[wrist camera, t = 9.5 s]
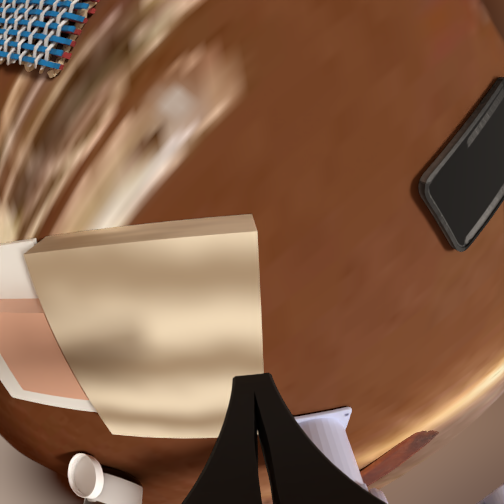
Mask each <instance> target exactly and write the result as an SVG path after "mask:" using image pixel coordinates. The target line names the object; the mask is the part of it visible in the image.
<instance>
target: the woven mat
mask: <svg viewBox="0 0 504 504" xmlns="http://www.w3.org/2000/svg"><path fill="white" fill-rule="evenodd" d="M82 1H86V2H84V3H81V2H82ZM99 1H100V0H74V1H73V0H69V1H68V0H0V5H1V7H0V64H2V63H3V62H5V61H6V59H7V63H6V64H7V65H10V64H11V63H15V62H16V61H17V60H19V64H20V65H21V64H23V65H25V70H26V71H27V72H30V71H32V70H33V69H34V68H36V67H37V64H38V65H41V67H40V70H39V73H40V74H42V73H43V71H44V69H45V67H46V66H47V67H51V68H50V69H49V70H48V71H47V73H48V75H49V77H50V78H52V77H54V76H55V75H57V74H58V73H59V72H60V70H62V69H63V67H64V65H63V63H64V61H65V59H66V58H67V59H70V57H71V55H72V54H71V53H69V51H70V49H71V47H74V46H75V44H76V42H75V39H76V37H77V36H78V35H80V33H81V32H82V31H81V28H82V27H83V25H84V24H86V22H87V21H88V19H87V14H94V12H95V11H96V9H94V8H92V7H93V6H95V5H96V3H97V2H98V3H99ZM16 5H18V7H17V8H15V6H16ZM35 6H36V8H35V9H32V8H33V7H35ZM43 7H44V8H43ZM56 8H57V10H56ZM31 9H32V10H31ZM66 10H68V12H65V11H66ZM76 11H77V15H76V14H75V12H76ZM19 15H20V16H19ZM1 16H2V18H1ZM18 16H19V17H18ZM28 16H31V17H30V19H29V20H27V19H28ZM45 19H49V21H48V22H47V23H45ZM35 20H36V21H35ZM70 21H72V22H76V23H75V25H74V26H68V24H69V23H70ZM13 26H14V29H11V28H12V27H13ZM31 28H35V29H34V30H33V31H32V32H31ZM41 29H44V30H43V32H42V34H41V33H40V31H41ZM61 33H64V34H65V33H68V34H69V36H68V38H63V37H61ZM7 36H10V37H9V38H8V39H7ZM27 38H28V43H23V42H24V41H25V40H26V39H27ZM36 39H37V40H39V42H38V43H37V44H36V45H34V43H35V41H36ZM48 42H51V43H50V45H49V47H48ZM57 44H62V45H64V46H63V48H62V50H58V49H56V46H57ZM3 47H4V51H2V48H3ZM20 49H25V50H24V51H23V52H22V54H21V55H20ZM30 51H32V52H31V53H30ZM29 53H30V54H29ZM44 54H45V57H44V59H40V58H41V57H42V56H43V55H44ZM52 55H55V56H58V58H57V60H56V62H52V61H49V60H50V58H51V56H52ZM9 60H10V61H9Z"/></svg>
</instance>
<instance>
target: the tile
mask: <svg viewBox="0 0 504 504" xmlns="http://www.w3.org/2000/svg"><path fill="white" fill-rule="evenodd" d="M0 354H1V356H2V357H3V359H4V361H5V362H6V364H7V366H8V367H9V369H10V371H11V372H12V374H13V375H14V377H15V379H16V380H17V382H18V383H19V385H20V386H21V388H22V389H23V390H26V391H30V392H36V393H41V394H47V395H53V396H59V397H66V398H73V399H81V400H89V398H88V397H87V395H86V393H85V392H84V390H83V388H82V387H81V385H80V383H79V382H78V380H77V378H76V376H75V374H74V373H73V371H72V369H71V367H70V365H69V363H68V362H67V360H66V358H65V356H64V354H63V352H62V350H61V348H60V346H59V344H58V342H57V340H56V337H55V335H54V333H53V331H52V329H51V327H50V324H49V322H48V320H47V317H46V315H45V313H44V310H43V308H42V305H41V303H40V300H39V298H32V299H0Z"/></svg>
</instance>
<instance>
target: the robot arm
mask: <svg viewBox="0 0 504 504" xmlns="http://www.w3.org/2000/svg"><path fill="white" fill-rule="evenodd" d="M351 412H352V409H351V407H344V408H340V409H335V410H330V411H325V412H320V413H314V414H309V415H303V416H297V417H293V415H292V414H291V412H290V411H289V409H288V407H287V406H286V404H285V402H284V401H283V399H282V397H281V395H280V393H279V391H278V389H277V387H276V385H275V383H274V380H273V378H272V375H271V374H270V373H262V374H253V375H242V376H235V377H234V378H233V379H232V390H231V396H230V401H229V405H228V409H227V412H226V415H225V419H224V422H223V425H222V428H221V431H220V433H219V436H218V439H217V441H216V444H215V446H214V448H213V451H212V453H211V455H210V457H209V459H208V461H207V463H206V465H205V467H204V469H203V471H202V473H201V474H200V476H199V478H198V480H197V481H196V483H195V485H194V486H193V488H192V489H191V491H190V492H189V494H188V495H187V497H186V498H185V499H184V501H183V502H182V504H262V500H261V493H260V485H259V478H258V441H257V431H258V435H259V439H260V443H261V448H262V452H263V456H264V460H265V464H266V468H267V472H268V476H269V481H270V486H271V493H272V500H273V504H388V502H387V499H386V497H385V495H384V493H383V492H382V491H381V490H378V489H376V488H372V489H370V490H369V491H368V488H367V486H366V484H365V483H363V480H362V477H361V474H360V471H359V469H358V466H357V463H356V460H355V457H354V454H353V452H352V449H351V446H350V443H349V440H348V438H347V435H346V432H345V429H346V426H347V424H348V421H349V418H350V415H351ZM476 504H504V483H503V484H502V485H501V486H499V487H498V488H497V489H495V490H494V491H493V492H491V493H490V494H489V495H487V496H486V497H485V498H484V499H482V500H481V501H479V502H478V503H476Z"/></svg>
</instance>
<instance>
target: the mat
mask: <svg viewBox="0 0 504 504" xmlns="http://www.w3.org/2000/svg"><path fill="white" fill-rule="evenodd" d="M36 244H37V240H36V238H33V239H26V240H20V241H14V242H8V243H2V244H0V299H32V298H38V295H37V293H36V290H35V287H34V285H33V282H32V279H31V276H30V273H29V270H28V267H27V264H26V261H25V258H24V254H25V253H26V252H27V251H28V250H29V249H31V248H32V247H33V246H35V245H36ZM0 380H1V382H2V383H3V385H4V386H5V388H6V389H7V390H8V392H9V393H10V395H11V396H12V397H14V398H18V399H22V400H27V401H31V402H36V403H41V404H46V405H51V406H57V407H63V408H69V409H76V410H83V411H91V412H97V411H96V409H95V408H94V406H93V405H92V403H91V402H90V400H81V399H73V398H66V397H59V396H53V395H47V394H41V393H36V392H30V391H26V390H23V389H22V388H21V386H20V385H19V383H18V382H17V380H16V379H15V377H14V375H13V374H12V372H11V371H10V369H9V367H8V366H7V364H6V362H5V361H4V359H3V357H2V356H1V354H0Z"/></svg>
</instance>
